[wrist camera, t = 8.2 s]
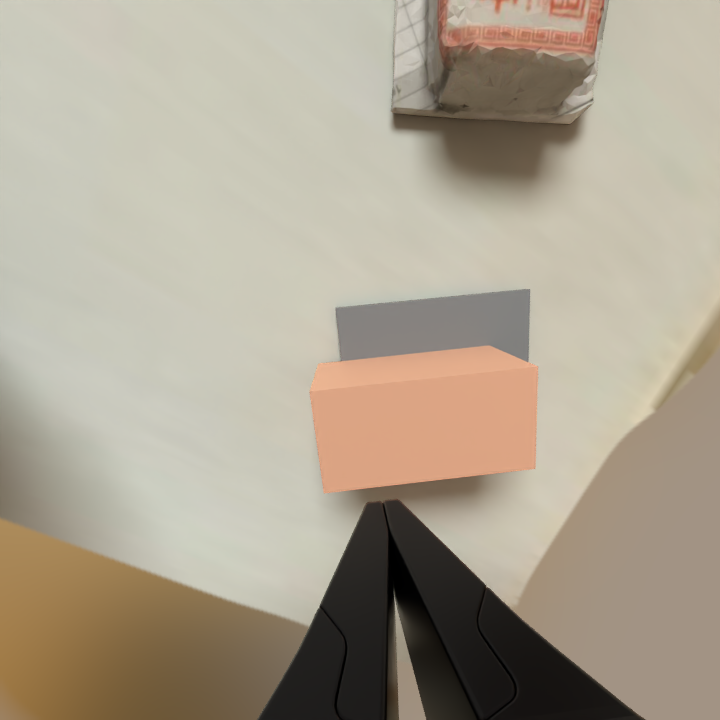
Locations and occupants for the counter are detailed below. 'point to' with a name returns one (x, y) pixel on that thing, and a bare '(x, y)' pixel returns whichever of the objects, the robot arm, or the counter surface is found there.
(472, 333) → the gray square plate
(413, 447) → the terracotta block
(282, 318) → the counter surface
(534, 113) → the packaged product
